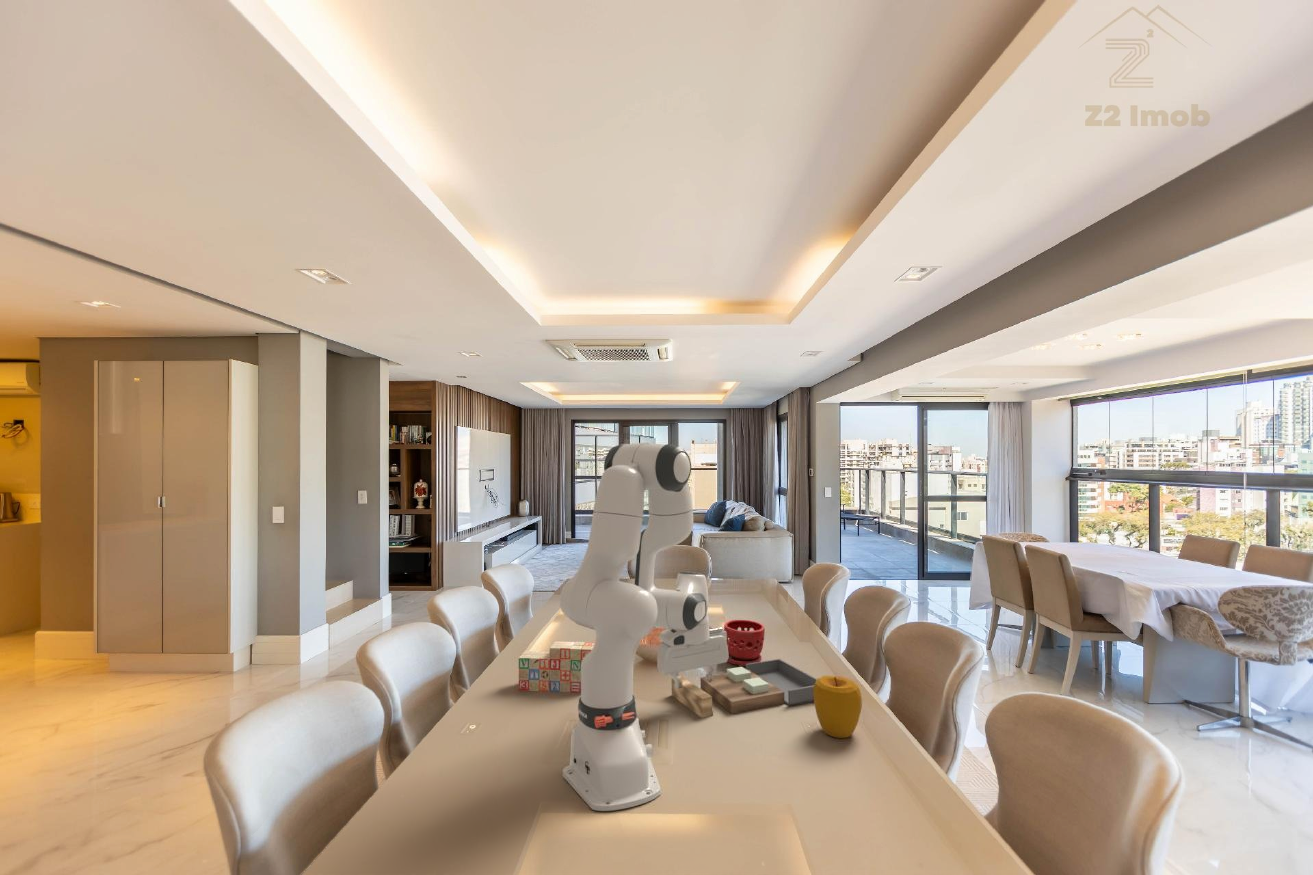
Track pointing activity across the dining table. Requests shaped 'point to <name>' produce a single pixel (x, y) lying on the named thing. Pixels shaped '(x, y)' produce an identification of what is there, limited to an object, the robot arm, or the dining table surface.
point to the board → (740, 694)
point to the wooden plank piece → (693, 698)
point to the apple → (837, 705)
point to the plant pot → (744, 641)
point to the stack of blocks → (553, 667)
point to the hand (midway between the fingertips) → (694, 684)
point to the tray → (786, 680)
